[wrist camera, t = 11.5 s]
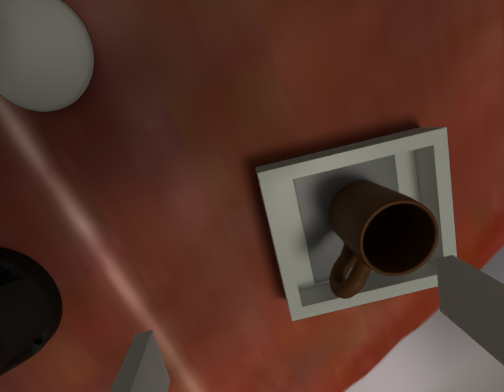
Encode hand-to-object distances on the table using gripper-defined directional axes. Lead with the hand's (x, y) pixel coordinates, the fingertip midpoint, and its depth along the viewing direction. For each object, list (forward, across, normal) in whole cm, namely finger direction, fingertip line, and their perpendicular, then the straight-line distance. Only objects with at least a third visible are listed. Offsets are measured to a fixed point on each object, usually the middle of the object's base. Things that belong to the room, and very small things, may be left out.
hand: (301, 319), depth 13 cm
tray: (+23, +11, -5) cm, 26 cm away
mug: (+22, +10, -6) cm, 25 cm away
